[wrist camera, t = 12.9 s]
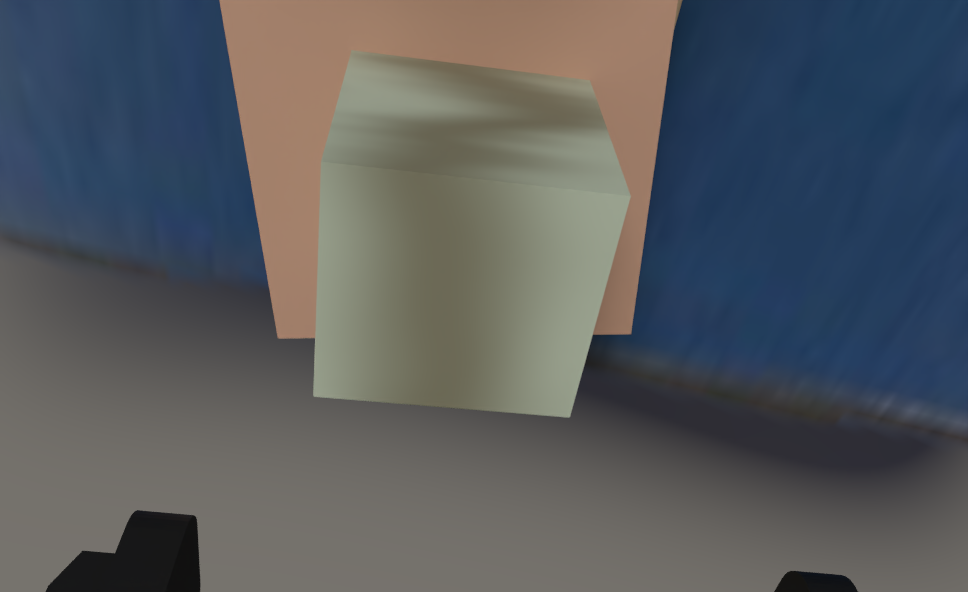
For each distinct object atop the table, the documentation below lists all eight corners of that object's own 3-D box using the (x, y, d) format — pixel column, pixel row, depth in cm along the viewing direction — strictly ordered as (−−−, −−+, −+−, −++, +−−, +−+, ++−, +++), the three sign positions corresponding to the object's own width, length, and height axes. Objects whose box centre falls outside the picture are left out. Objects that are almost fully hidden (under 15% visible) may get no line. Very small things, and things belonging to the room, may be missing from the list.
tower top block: (647, -73, 21) (681, -29, 18) (609, 257, 27) (630, 333, 24) (251, -73, 21) (214, -30, 18) (298, 260, 27) (278, 338, 24)
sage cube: (589, 80, 20) (630, 196, 15) (546, 274, 23) (569, 417, 18) (351, 50, 19) (320, 161, 15) (340, 253, 22) (313, 396, 18)
